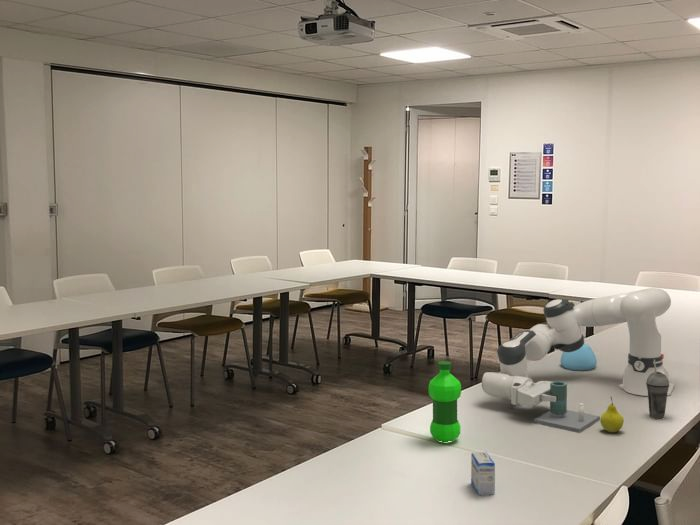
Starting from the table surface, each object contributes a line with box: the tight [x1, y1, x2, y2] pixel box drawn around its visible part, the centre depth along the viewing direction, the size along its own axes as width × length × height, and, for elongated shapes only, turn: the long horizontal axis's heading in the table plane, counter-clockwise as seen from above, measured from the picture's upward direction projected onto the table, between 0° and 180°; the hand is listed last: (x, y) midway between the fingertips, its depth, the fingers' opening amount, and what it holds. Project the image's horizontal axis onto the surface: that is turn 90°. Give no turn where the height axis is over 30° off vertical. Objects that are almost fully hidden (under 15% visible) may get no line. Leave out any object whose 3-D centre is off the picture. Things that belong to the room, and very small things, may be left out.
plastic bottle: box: [428, 360, 462, 442], centre depth 225 cm, size 10×10×25 cm
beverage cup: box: [646, 359, 670, 420], centre depth 242 cm, size 7×7×20 cm
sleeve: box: [549, 381, 568, 415], centre depth 243 cm, size 5×5×10 cm
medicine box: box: [470, 451, 496, 496], centre depth 190 cm, size 8×4×9 cm, turn 5°
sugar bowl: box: [560, 343, 598, 371], centre depth 311 cm, size 15×15×12 cm
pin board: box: [533, 402, 601, 434], centre depth 241 cm, size 16×16×7 cm
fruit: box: [599, 397, 624, 434], centre depth 230 cm, size 7×7×12 cm
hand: (560, 396), depth 242 cm, fingers closed on sleeve, 5 cm apart
